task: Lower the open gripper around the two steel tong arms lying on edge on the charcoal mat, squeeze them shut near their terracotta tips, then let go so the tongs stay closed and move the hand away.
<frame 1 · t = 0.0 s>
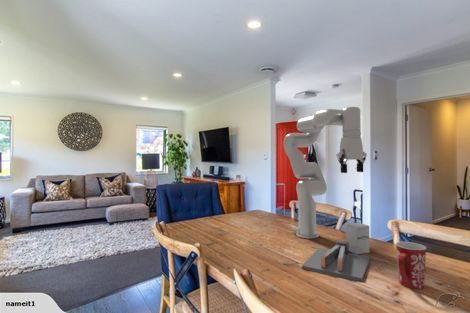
hand: (352, 172, 122), 37 cm above the table, tool pointing down, fingers open, 9 cm apart
supplement box: (357, 251, 126), on the table
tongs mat: (337, 263, 112), on the table
mug: (408, 286, 93), on the table
tong arm 1: (331, 255, 112), point 3 cm above the table, hinge at 7.0°
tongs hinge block: (342, 255, 121), resting on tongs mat
tong arm 2: (341, 257, 110), point 3 cm above the table, hinge at 7.0°
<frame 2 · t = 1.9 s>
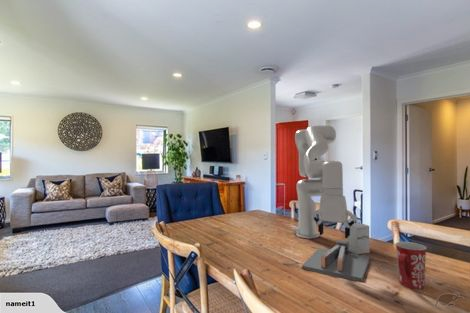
hand: (333, 235, 107), 13 cm above the table, tool pointing down, fingers open, 9 cm apart
nothing on the table moved.
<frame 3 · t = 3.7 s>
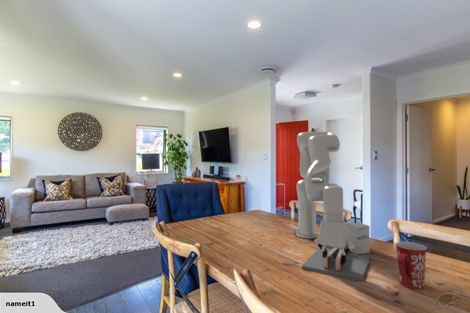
hand: (334, 262, 107), 3 cm above the table, tool pointing down, fingers open, 5 cm apart
tong arm 1: (332, 255, 112), point 3 cm above the table, hinge at 3.9°, touching gripper
tong arm 2: (340, 257, 110), point 4 cm above the table, hinge at 4.8°, touching gripper
everything else where it was.
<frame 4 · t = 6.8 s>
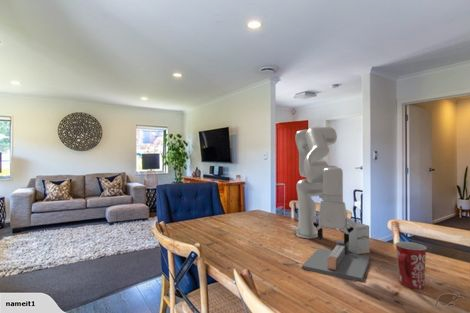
hand: (333, 241, 108), 11 cm above the table, tool pointing down, fingers open, 9 cm apart
tong arm 1: (334, 256, 111), point 3 cm above the table, hinge at -0.8°
tong arm 2: (338, 257, 110), point 4 cm above the table, hinge at 0.2°
everything else where it was.
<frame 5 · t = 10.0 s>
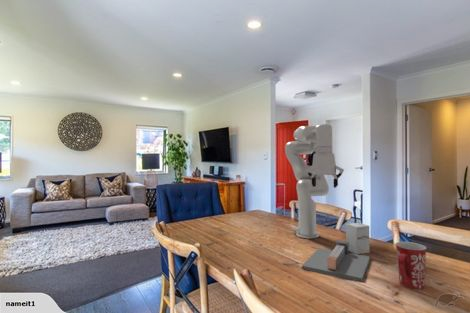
hand: (324, 186, 127), 30 cm above the table, tool pointing down, fingers open, 9 cm apart
nothing on the table moved.
at the end: tong arm 1 at -1° (first picture: +7°); tong arm 2 at +0° (first picture: +7°) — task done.
